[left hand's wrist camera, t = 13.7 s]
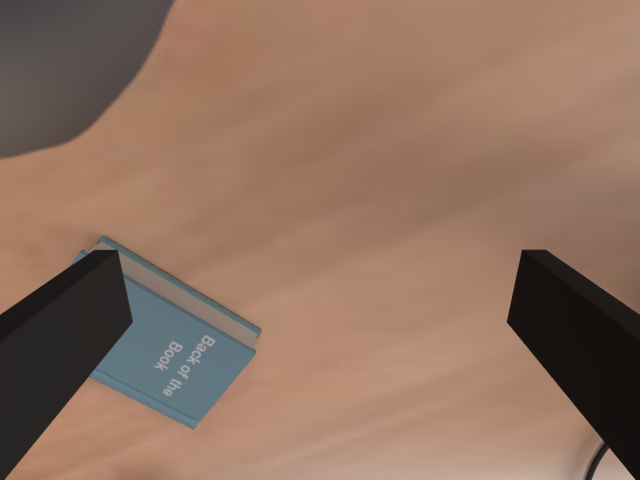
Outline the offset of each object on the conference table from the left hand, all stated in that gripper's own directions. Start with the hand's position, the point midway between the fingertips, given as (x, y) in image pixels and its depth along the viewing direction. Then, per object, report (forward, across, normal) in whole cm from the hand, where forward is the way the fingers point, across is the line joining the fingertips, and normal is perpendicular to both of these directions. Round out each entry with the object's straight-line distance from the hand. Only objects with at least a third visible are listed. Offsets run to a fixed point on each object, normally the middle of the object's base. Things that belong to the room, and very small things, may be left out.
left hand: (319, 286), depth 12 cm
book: (+31, -22, -23) cm, 45 cm away
